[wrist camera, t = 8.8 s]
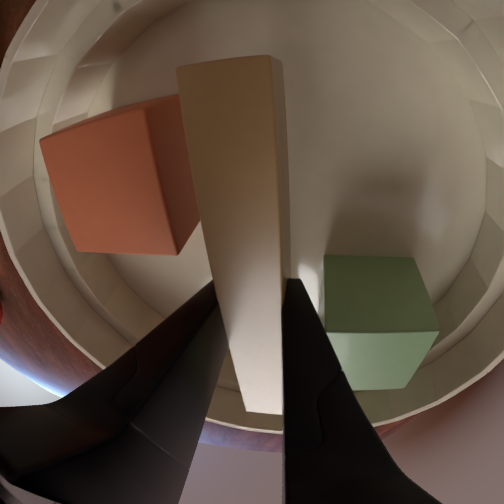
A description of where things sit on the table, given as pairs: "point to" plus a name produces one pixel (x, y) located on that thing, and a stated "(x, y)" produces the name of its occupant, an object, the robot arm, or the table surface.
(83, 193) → the terracotta block
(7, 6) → the table surface
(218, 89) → the long tan beam
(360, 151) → the bowl
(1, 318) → the tomato
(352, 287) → the sage block
